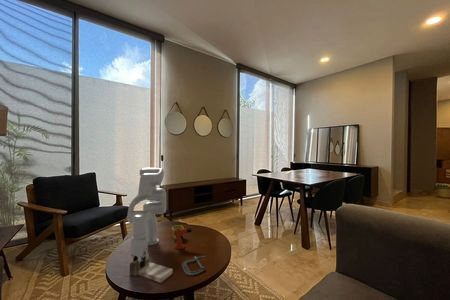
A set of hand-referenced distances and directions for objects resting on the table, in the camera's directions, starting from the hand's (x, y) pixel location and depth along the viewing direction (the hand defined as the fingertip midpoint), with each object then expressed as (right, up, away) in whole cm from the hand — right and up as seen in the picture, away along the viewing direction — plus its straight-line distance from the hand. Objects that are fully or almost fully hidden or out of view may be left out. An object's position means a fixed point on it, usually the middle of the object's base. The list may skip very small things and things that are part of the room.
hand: (139, 265), depth 130 cm
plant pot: (+12, -4, +49) cm, 51 cm away
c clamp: (+33, -5, +7) cm, 34 cm away
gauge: (0, -3, 0) cm, 3 cm away
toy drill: (+22, -4, +32) cm, 39 cm away
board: (+7, -4, -1) cm, 8 cm away
